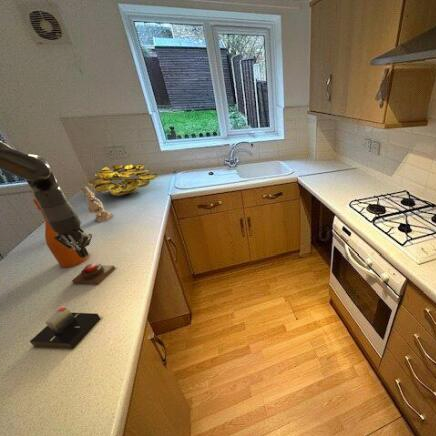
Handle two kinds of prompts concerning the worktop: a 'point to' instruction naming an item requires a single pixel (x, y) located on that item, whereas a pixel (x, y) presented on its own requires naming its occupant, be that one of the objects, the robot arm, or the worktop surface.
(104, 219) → the figurine
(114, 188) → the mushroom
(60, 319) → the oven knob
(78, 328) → the panel
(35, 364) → the worktop surface
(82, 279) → the button block
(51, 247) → the wine bottle
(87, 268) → the button
